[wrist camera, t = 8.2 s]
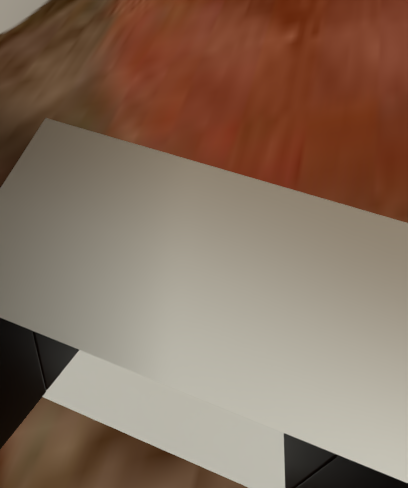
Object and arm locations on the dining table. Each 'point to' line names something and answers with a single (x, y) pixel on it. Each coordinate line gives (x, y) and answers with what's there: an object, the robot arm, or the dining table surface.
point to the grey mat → (172, 421)
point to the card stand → (214, 287)
